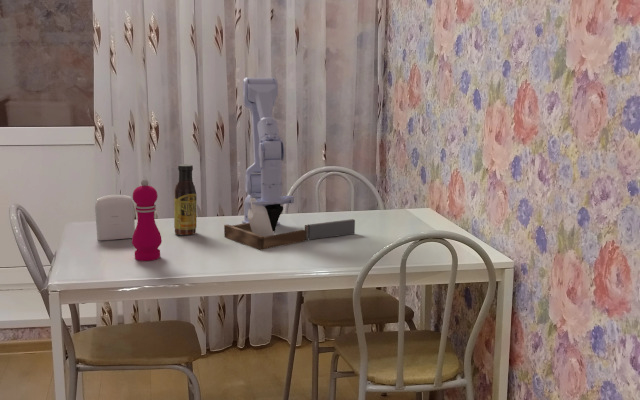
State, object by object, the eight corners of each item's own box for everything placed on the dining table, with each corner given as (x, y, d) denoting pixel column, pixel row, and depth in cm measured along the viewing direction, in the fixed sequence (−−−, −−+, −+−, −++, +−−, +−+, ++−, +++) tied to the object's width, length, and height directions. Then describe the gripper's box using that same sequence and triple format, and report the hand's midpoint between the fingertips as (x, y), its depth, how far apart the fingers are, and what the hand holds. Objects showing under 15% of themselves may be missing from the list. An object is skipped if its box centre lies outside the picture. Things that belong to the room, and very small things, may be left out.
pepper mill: (137, 253, 181) (134, 176, 177) (165, 253, 181) (162, 177, 177) (129, 261, 174) (125, 181, 170) (158, 261, 174) (155, 182, 170)
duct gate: (309, 239, 196) (310, 225, 195) (307, 238, 197) (307, 224, 196) (354, 233, 203) (354, 219, 202) (352, 232, 204) (352, 219, 203)
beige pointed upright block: (261, 199, 188) (241, 203, 189) (272, 239, 192) (252, 243, 193) (264, 191, 194) (244, 195, 195) (274, 230, 198) (255, 234, 199)
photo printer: (97, 241, 192) (94, 197, 190) (96, 238, 196) (94, 194, 194) (135, 239, 195) (133, 195, 193) (134, 235, 199) (133, 192, 197)
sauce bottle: (181, 237, 197) (179, 167, 194) (170, 233, 202) (168, 164, 198) (201, 233, 202) (200, 165, 198) (190, 229, 206) (188, 162, 202)
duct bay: (224, 237, 198) (224, 222, 197) (272, 228, 209) (272, 214, 208) (260, 250, 185) (260, 234, 184) (309, 240, 196) (309, 225, 195)
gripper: (258, 188, 187) (258, 237, 190) (300, 182, 197) (300, 229, 199) (243, 184, 193) (244, 232, 195) (285, 179, 202) (285, 225, 205)
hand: (271, 231), depth 198 cm, fingers closed
